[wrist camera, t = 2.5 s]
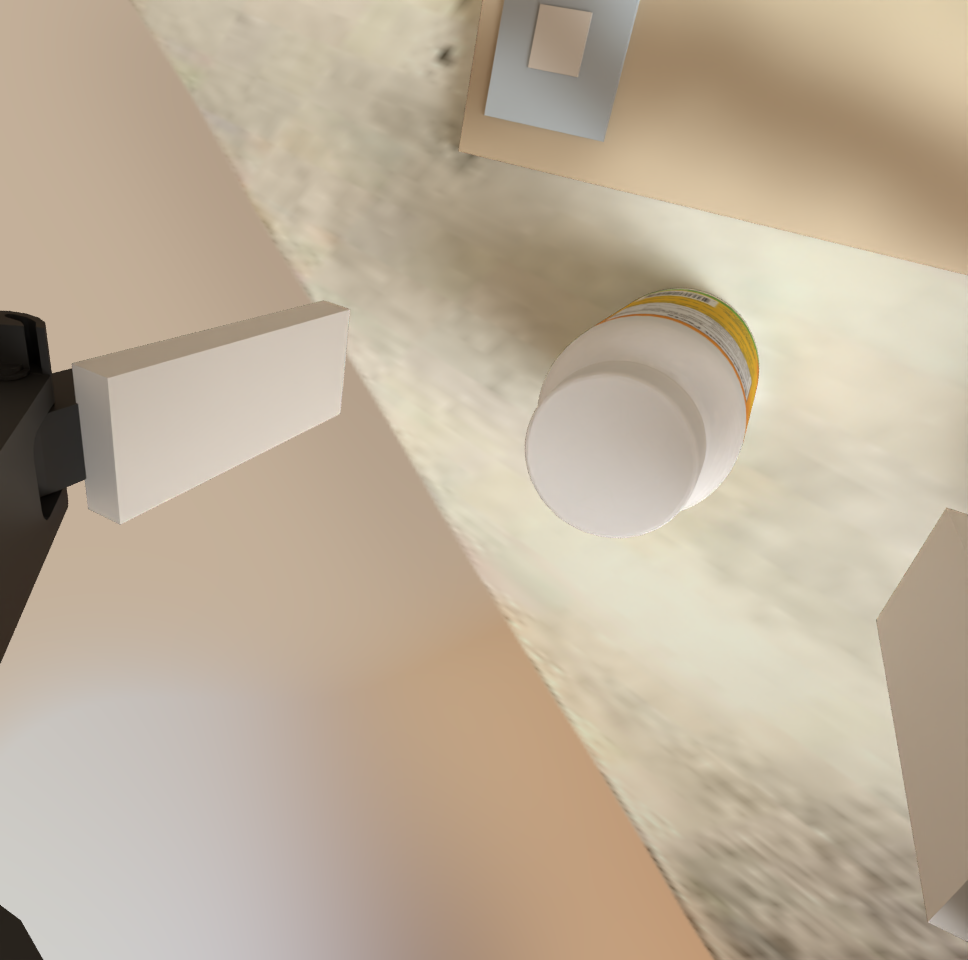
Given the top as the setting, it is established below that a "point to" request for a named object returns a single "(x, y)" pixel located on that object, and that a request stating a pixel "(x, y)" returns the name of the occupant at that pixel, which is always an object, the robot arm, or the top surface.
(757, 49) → the beige and green stand
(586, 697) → the top surface
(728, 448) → the supplement bottle
